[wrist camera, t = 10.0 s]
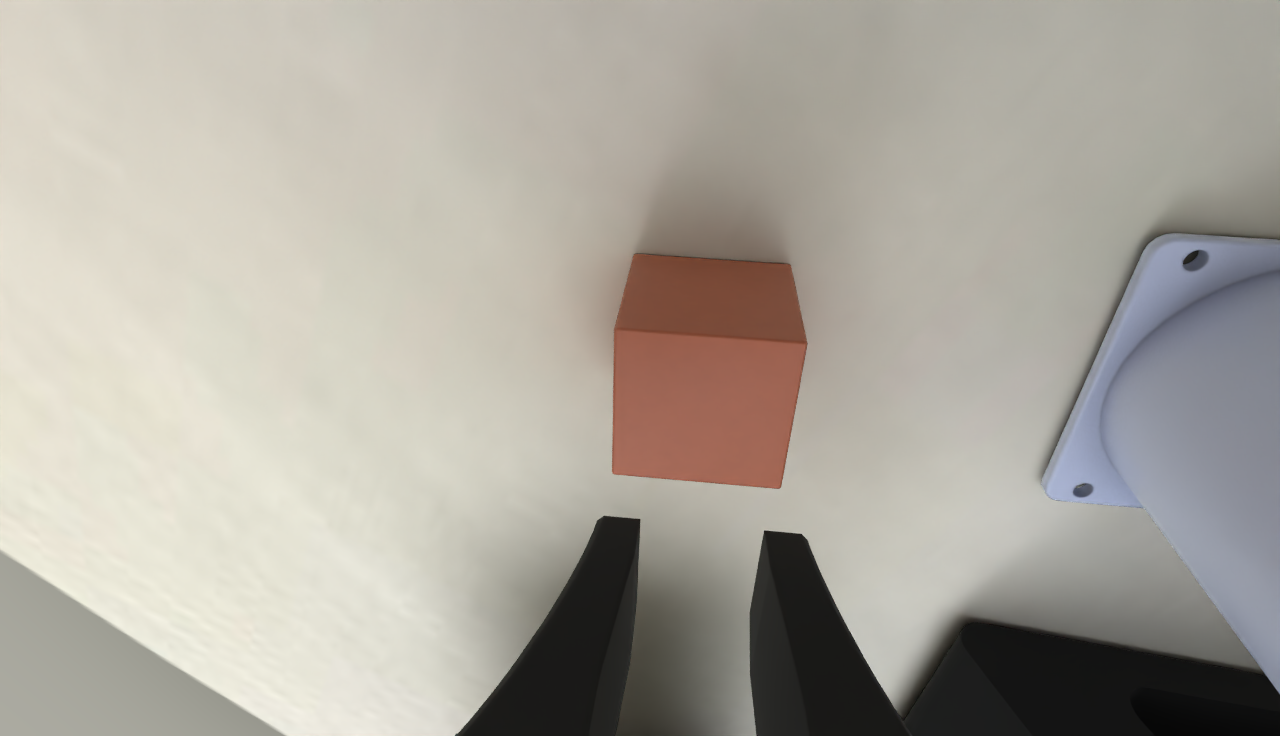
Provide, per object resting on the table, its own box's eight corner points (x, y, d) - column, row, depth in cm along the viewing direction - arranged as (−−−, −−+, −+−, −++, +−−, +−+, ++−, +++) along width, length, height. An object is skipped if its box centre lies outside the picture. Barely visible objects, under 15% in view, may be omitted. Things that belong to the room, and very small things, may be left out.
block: (791, 263, 18) (808, 343, 14) (770, 394, 20) (781, 490, 17) (633, 252, 18) (614, 328, 15) (629, 383, 20) (611, 475, 17)
